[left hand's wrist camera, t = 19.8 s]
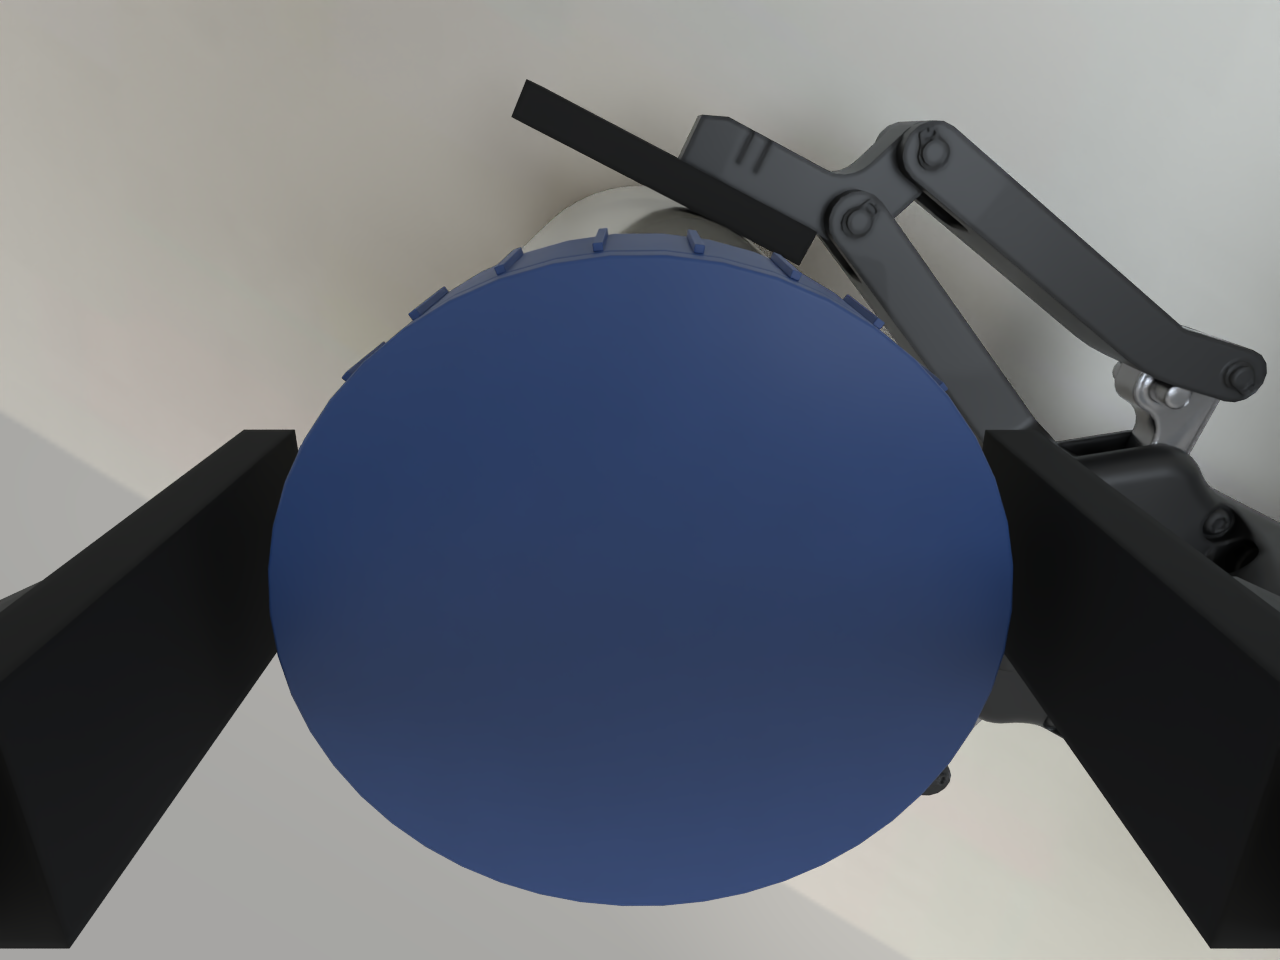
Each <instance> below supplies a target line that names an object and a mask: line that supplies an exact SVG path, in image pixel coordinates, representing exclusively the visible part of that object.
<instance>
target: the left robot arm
mask: <svg viewBox="0 0 1280 960" xmlns="http://www.w3.org/2000/svg"><path fill="white" fill-rule="evenodd" d="M982 451H983V453H984V455H985V457H986V460H987V462H988V464H989V466H990V468H991V470H992V473H993V475H994V477H995V479H996V483H997V486H998V490H999V493H1000V497H1001V500H1002V504H1003V507H1004V511H1005V514H1006V518H1007V521H1008V528H1009V536H1010V544H1011V552H1012V560H1013V593H1012V613H1011V619H1010V624H1009V630H1008V635H1007V641H1006V647H1005V652H1004V654H1005V656H1006V657H1007V658H1008V660H1009V661H1010V663H1011V664H1012V666H1013V667H1014V668H1015V670H1016V671H1017V673H1018V674H1019V676H1020V677H1021V678H1022V680H1023V681H1024V683H1025V684H1026V686H1027V687H1028V688H1029V690H1030V691H1031V693H1032V694H1033V696H1034V697H1035V698H1036V700H1037V701H1038V703H1039V704H1040V706H1041V707H1042V708H1043V710H1044V711H1045V713H1046V714H1047V716H1048V717H1049V718H1050V720H1051V721H1052V723H1053V724H1054V726H1055V727H1056V728H1057V730H1058V731H1059V733H1060V734H1061V736H1062V737H1063V738H1064V740H1065V741H1066V743H1067V744H1068V746H1069V747H1070V748H1071V750H1072V751H1073V753H1074V754H1075V756H1076V757H1077V758H1078V760H1079V761H1080V763H1081V764H1082V766H1083V767H1084V768H1085V770H1086V771H1087V773H1088V774H1089V776H1090V777H1091V778H1092V780H1093V781H1094V783H1095V784H1096V786H1097V787H1098V788H1099V790H1100V791H1101V793H1102V794H1103V796H1104V797H1105V798H1106V800H1107V801H1108V803H1109V804H1110V806H1111V807H1112V808H1113V810H1114V811H1115V813H1116V814H1117V816H1118V817H1119V818H1120V820H1121V821H1122V823H1123V824H1124V826H1125V827H1126V828H1127V830H1128V831H1129V833H1130V834H1131V836H1132V837H1133V838H1134V840H1135V841H1136V843H1137V844H1138V846H1139V847H1140V848H1141V850H1142V851H1143V853H1144V854H1145V856H1146V857H1147V858H1148V860H1149V861H1150V863H1151V864H1152V866H1153V867H1154V868H1155V870H1156V871H1157V873H1158V874H1159V876H1160V877H1161V878H1162V880H1163V881H1164V883H1165V884H1166V886H1167V887H1168V888H1169V890H1170V891H1171V893H1172V894H1173V896H1174V897H1175V898H1176V900H1177V901H1178V903H1179V904H1180V906H1181V907H1182V908H1183V910H1184V911H1185V913H1186V914H1187V916H1188V917H1189V918H1190V920H1191V921H1192V923H1193V924H1194V926H1195V927H1196V928H1197V930H1198V931H1199V933H1200V934H1201V936H1202V937H1203V938H1204V940H1205V941H1206V943H1207V944H1208V946H1209V947H1210V948H1280V596H1278V595H1276V594H1274V593H1271V592H1269V591H1267V590H1265V589H1263V588H1260V587H1258V586H1256V585H1254V584H1252V583H1250V582H1247V581H1245V580H1243V579H1241V578H1239V577H1232V576H1231V575H1230V574H1228V573H1227V572H1226V571H1224V570H1223V569H1222V568H1220V567H1219V566H1218V565H1216V564H1215V563H1213V562H1212V561H1211V560H1209V559H1208V558H1207V557H1205V556H1204V555H1203V554H1201V553H1200V552H1199V551H1197V550H1196V549H1195V548H1193V547H1192V546H1191V545H1189V544H1188V543H1187V542H1185V541H1184V540H1183V539H1181V538H1180V537H1179V536H1177V535H1176V534H1175V533H1173V532H1172V531H1171V530H1169V529H1168V528H1167V527H1165V526H1164V525H1163V524H1161V523H1160V522H1159V521H1157V520H1156V519H1155V518H1153V517H1152V516H1151V515H1149V514H1148V513H1147V512H1145V511H1144V510H1143V509H1141V508H1140V507H1139V506H1137V505H1136V504H1135V503H1133V502H1132V501H1131V500H1129V499H1128V498H1127V497H1125V496H1124V495H1123V494H1121V493H1120V492H1119V491H1117V490H1116V489H1115V488H1113V487H1112V486H1111V485H1109V484H1108V483H1107V482H1105V481H1104V480H1103V479H1101V478H1100V477H1098V476H1097V475H1096V474H1094V473H1093V472H1092V471H1090V470H1089V469H1088V468H1086V467H1085V466H1084V465H1082V464H1081V463H1080V462H1078V461H1077V460H1076V459H1074V458H1073V457H1072V456H1070V455H1069V454H1068V453H1066V452H1065V451H1064V450H1062V449H1061V448H1060V447H1058V446H1057V445H1056V444H1054V443H1053V442H1052V441H1050V440H1049V439H1048V438H1046V437H1045V436H1044V435H1042V434H1041V433H1040V432H1038V431H1037V430H985V435H984V441H983V447H982ZM297 454H298V447H297V441H296V434H295V430H243V431H242V432H240V433H239V434H238V435H236V436H235V437H234V438H232V439H231V440H230V441H228V442H227V443H226V444H224V445H223V446H222V447H220V448H219V449H218V450H216V451H215V452H214V453H212V454H211V455H210V456H208V457H207V458H206V459H204V460H203V461H202V462H200V463H199V464H198V465H196V466H195V467H194V468H192V469H191V470H190V471H188V472H187V473H186V474H184V475H183V476H182V477H180V478H179V479H177V480H176V481H175V482H173V483H172V484H171V485H169V486H168V487H167V488H165V489H164V490H163V491H161V492H160V493H159V494H157V495H156V496H155V497H153V498H152V499H151V500H149V501H148V502H147V503H145V504H144V505H143V506H141V507H140V508H139V509H137V510H136V511H135V512H133V513H132V514H131V515H129V516H128V517H127V518H125V519H124V520H123V521H121V522H120V523H119V524H117V525H116V526H115V527H113V528H112V529H111V530H109V531H108V532H107V533H105V534H104V535H103V536H101V537H100V538H99V539H97V540H96V541H95V542H93V543H92V544H91V545H89V546H88V547H87V548H85V549H84V550H83V551H81V552H80V553H79V554H77V555H76V556H75V557H73V558H72V559H71V560H69V561H68V562H67V563H65V564H64V565H63V566H61V567H60V568H59V569H57V570H56V571H55V572H53V573H52V574H50V575H49V576H48V577H46V578H45V579H44V580H42V581H40V582H38V583H36V584H34V585H32V586H29V587H27V588H25V589H23V590H21V591H19V592H17V593H14V594H12V595H10V596H8V597H6V598H4V599H1V600H0V948H70V947H71V946H72V944H73V943H74V941H75V940H76V938H77V937H78V936H79V934H80V933H81V931H82V930H83V928H84V927H85V926H86V924H87V923H88V921H89V920H90V918H91V917H92V916H93V914H94V913H95V911H96V910H97V908H98V907H99V906H100V904H101V903H102V901H103V900H104V898H105V897H106V896H107V894H108V893H109V891H110V890H111V888H112V887H113V886H114V884H115V883H116V881H117V880H118V878H119V877H120V876H121V874H122V873H123V871H124V870H125V868H126V867H127V866H128V864H129V863H130V861H131V860H132V858H133V857H134V855H135V854H136V853H137V851H138V850H139V848H140V847H141V846H142V844H143V843H144V841H145V840H146V838H147V837H148V836H149V834H150V833H151V831H152V830H153V828H154V827H155V826H156V824H157V823H158V821H159V820H160V818H161V817H162V816H163V814H164V813H165V811H166V810H167V808H168V807H169V806H170V804H171V803H172V801H173V800H174V798H175V797H176V796H177V794H178V793H179V791H180V790H181V788H182V787H183V786H184V784H185V783H186V781H187V780H188V778H189V777H190V776H191V774H192V773H193V771H194V770H195V768H196V767H197V766H198V764H199V763H200V761H201V760H202V758H203V757H204V756H205V754H206V753H207V751H208V750H209V748H210V747H211V746H212V744H213V743H214V741H215V740H216V738H217V737H218V736H219V734H220V733H221V731H222V730H223V728H224V727H225V726H226V724H227V723H228V721H229V720H230V718H231V717H232V716H233V714H234V713H235V711H236V710H237V708H238V707H239V706H240V704H241V703H242V701H243V700H244V698H245V697H246V696H247V694H248V693H249V691H250V690H251V688H252V687H253V686H254V684H255V683H256V681H257V680H258V678H259V677H260V676H261V674H262V673H263V671H264V670H265V668H266V667H267V666H268V664H269V663H270V661H271V660H272V658H273V657H274V656H275V654H276V653H277V649H276V644H275V639H274V634H273V628H272V623H271V618H270V608H269V584H268V565H269V556H270V547H271V538H272V529H273V524H274V520H275V516H276V513H277V509H278V505H279V502H280V498H281V494H282V491H283V487H284V483H285V481H286V478H287V476H288V474H289V472H290V470H291V467H292V465H293V463H294V461H295V458H296V456H297Z"/></svg>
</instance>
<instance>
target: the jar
mask: <svg viewBox="0 0 1280 960" xmlns="http://www.w3.org/2000/svg"><path fill="white" fill-rule="evenodd" d="M601 228H607V229H608V235H610V234H661V233H662V234H670V235H678V236H685V237H687V231H688V230H696V231H697V233H698V234H699V236H700V238H701V239H708V240H712V241H716V242H720V243H723V244H727V245H731V246H734V247H738V248H742V249H745V250H749V251H753V252H755V253H758V254H760V255H763V256H765V257H767V256H766V255H765V254H764V253H763V252H762V251H761V250H760V249H759V248H758V247H757V246H756V245H755V244H754V243H753V242H752V241H751V240H749V239H747V238H745V237H743V236H741V235H739V234H737V233H735V232H733V231H731V230H729V229H728V228H726V227H724V226H722V225H720V224H718V223H716V222H714V221H712V220H710V219H708V218H706V217H704V216H702V215H700V214H698V213H696V212H694V211H692V210H691V209H689V208H687V207H685V206H683V205H681V204H679V203H677V202H675V201H673V200H671V199H669V198H667V197H665V196H663V195H661V194H660V193H658V192H656V191H654V190H652V189H650V188H648V187H646V186H626V187H619V188H612V189H609V190H605V191H602V192H598V193H595V194H593V195H590V196H588V197H586V198H584V199H581V200H579V201H577V202H576V203H574V204H572V205H571V206H569V207H568V208H566V209H564V210H563V211H562V212H560V213H559V214H558V215H557V216H556V217H554V218H553V219H552V220H551V221H550V222H548V223H547V224H546V225H545V226H544V227H543V228H542V229H541V230H540V231H539V232H538V233H537V234H536V235H535V236H534V237H533V238H532V239H531V240H530V241H529V242H528V243H527V244H526V245H525V246H524V247H523V248H522V251H523V253H526V252H529V251H533V250H536V249H540V248H543V247H547V246H550V245H554V244H557V243H561V242H564V241H568V240H575V239H582V238H589V237H595V236H596V234H597V232H598V230H599V229H601ZM767 258H768V257H767Z"/></svg>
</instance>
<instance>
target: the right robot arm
mask: <svg viewBox="0 0 1280 960" xmlns="http://www.w3.org/2000/svg"><path fill="white" fill-rule="evenodd" d="M512 118H514V119H516V120H518V121H520V122H522V123H524V124H526V125H528V126H530V127H532V128H534V129H536V130H538V131H540V132H541V133H543V134H545V135H547V136H549V137H551V138H553V139H555V140H557V141H559V142H561V143H563V144H565V145H567V146H569V147H571V148H572V149H574V150H576V151H578V152H580V153H582V154H584V155H586V156H588V157H590V158H592V159H594V160H596V161H598V162H600V163H601V164H603V165H605V166H607V167H609V168H611V169H613V170H615V171H617V172H619V173H621V174H623V175H625V176H627V177H629V178H631V179H632V180H634V181H636V182H638V183H640V184H642V185H644V186H646V187H648V188H650V189H652V190H654V191H656V192H658V193H660V194H661V195H663V196H665V197H667V198H669V199H671V200H673V201H675V202H677V203H679V204H681V205H683V206H685V207H687V208H689V209H691V210H692V211H694V212H696V213H698V214H700V215H702V216H704V217H706V218H708V219H710V220H712V221H714V222H716V223H718V224H720V225H722V226H724V227H726V228H728V229H729V230H731V231H733V232H735V233H737V234H739V235H741V236H743V237H745V238H747V239H749V240H751V241H752V242H754V243H756V244H758V245H760V246H762V247H764V248H766V249H768V250H770V251H772V252H775V253H777V254H779V255H781V256H782V257H783V258H785V259H787V260H789V261H791V262H793V263H795V264H797V265H800V263H801V261H802V259H803V258H804V256H805V254H806V252H807V250H808V249H809V247H810V245H811V243H812V241H813V239H814V238H815V236H816V234H817V235H818V237H819V238H820V240H821V241H822V242H823V244H824V245H825V246H826V248H827V249H828V250H829V252H830V253H831V254H832V256H833V257H834V258H835V260H836V261H837V263H838V264H839V265H840V267H841V268H842V269H843V271H844V272H845V273H846V275H847V276H848V277H849V279H850V280H851V281H852V283H853V284H854V285H855V287H856V288H857V290H858V291H859V292H860V294H861V295H862V296H863V298H864V299H865V300H866V302H867V303H868V304H869V306H870V307H871V308H872V310H873V311H874V312H875V314H876V315H877V317H878V318H879V319H881V320H882V321H883V322H885V324H884V326H885V327H886V329H887V330H888V331H889V333H890V334H891V335H892V337H893V338H894V339H895V341H896V342H897V344H898V345H899V346H900V347H901V348H902V349H904V350H905V351H906V352H907V353H909V354H910V355H911V356H912V357H913V358H915V359H916V360H917V361H918V362H919V363H920V364H922V365H923V366H924V367H925V368H926V369H928V370H929V371H930V372H931V373H933V374H934V375H935V376H936V377H937V378H939V379H940V380H941V381H942V382H944V384H945V385H946V386H947V388H948V390H947V391H945V392H946V393H947V394H948V396H949V397H950V399H951V400H952V402H953V403H954V405H955V406H956V408H957V409H958V411H959V412H960V414H961V415H962V417H963V418H964V420H965V421H966V423H967V424H968V425H969V427H970V428H971V430H972V431H973V433H974V434H975V436H976V438H977V440H978V442H979V445H980V447H981V449H982V447H983V441H984V435H985V430H1037V431H1038V432H1040V433H1041V434H1042V435H1044V436H1045V437H1046V438H1048V439H1049V440H1050V441H1052V442H1053V443H1054V444H1056V445H1057V446H1058V447H1060V448H1061V449H1062V450H1064V451H1065V452H1066V453H1068V454H1069V455H1070V456H1072V457H1073V458H1074V459H1076V460H1077V461H1078V462H1080V463H1081V464H1082V465H1084V466H1085V467H1086V468H1088V469H1089V470H1090V471H1092V472H1093V473H1094V474H1096V475H1097V476H1098V477H1100V478H1101V479H1103V480H1104V481H1105V482H1107V483H1108V484H1109V485H1111V486H1112V487H1113V488H1115V489H1116V490H1117V491H1119V492H1120V493H1121V494H1123V495H1124V496H1125V497H1127V498H1128V499H1129V500H1131V501H1132V502H1133V503H1135V504H1136V505H1137V506H1139V507H1140V508H1141V509H1143V510H1144V511H1145V512H1147V513H1148V514H1149V515H1151V516H1152V517H1153V518H1155V519H1156V520H1157V521H1159V522H1160V523H1161V524H1163V525H1164V526H1165V527H1167V528H1168V529H1169V530H1171V531H1172V532H1173V533H1175V534H1176V535H1177V536H1179V537H1180V538H1181V539H1183V540H1184V541H1185V542H1187V543H1188V544H1189V545H1191V546H1192V547H1193V548H1195V549H1196V550H1197V551H1199V552H1200V553H1201V554H1203V555H1204V556H1205V557H1207V558H1208V559H1209V560H1211V561H1212V562H1213V563H1215V564H1216V565H1218V566H1219V567H1220V568H1222V569H1223V570H1224V571H1226V572H1227V573H1228V574H1230V575H1231V576H1232V577H1239V578H1241V579H1243V580H1245V581H1247V582H1250V583H1252V584H1254V585H1256V586H1258V587H1260V588H1263V589H1265V590H1267V591H1269V592H1271V593H1274V594H1276V595H1278V596H1280V523H1279V522H1277V521H1275V520H1273V519H1271V518H1269V517H1267V516H1265V515H1264V514H1262V513H1260V512H1258V511H1256V510H1254V509H1252V508H1250V507H1248V506H1246V505H1244V504H1242V503H1240V502H1238V501H1236V500H1234V499H1232V498H1231V497H1229V496H1227V495H1225V494H1223V493H1221V492H1219V491H1217V490H1215V489H1213V488H1211V487H1210V486H1209V485H1208V484H1207V482H1206V481H1205V479H1204V477H1203V475H1202V473H1201V471H1200V468H1199V466H1198V465H1197V463H1196V462H1195V460H1194V459H1193V458H1192V457H1191V456H1190V455H1189V454H1190V452H1191V450H1192V449H1193V447H1194V445H1195V443H1196V441H1197V440H1198V438H1199V436H1200V434H1201V433H1202V431H1203V429H1204V427H1205V425H1206V424H1207V422H1208V420H1209V418H1210V417H1211V415H1212V413H1213V411H1214V409H1215V408H1216V406H1217V404H1218V402H1219V401H1220V400H1222V401H1228V402H1237V401H1241V400H1244V399H1246V398H1248V397H1250V396H1251V395H1253V394H1254V393H1256V391H1257V390H1258V389H1259V388H1260V386H1261V385H1262V384H1263V382H1264V379H1265V376H1266V374H1267V369H1266V362H1265V360H1264V359H1263V357H1262V355H1260V354H1259V353H1257V352H1255V351H1254V350H1251V349H1248V348H1245V347H1242V346H1240V345H1237V344H1234V343H1231V342H1228V341H1225V340H1223V339H1220V338H1217V337H1214V336H1211V335H1208V334H1206V333H1203V332H1200V331H1197V330H1194V329H1192V328H1189V327H1186V326H1182V325H1179V324H1178V323H1177V322H1176V321H1175V320H1174V319H1173V318H1172V317H1170V316H1169V315H1168V314H1167V313H1166V312H1165V311H1164V310H1162V309H1161V308H1160V307H1159V306H1158V305H1157V304H1156V303H1154V302H1153V301H1152V300H1151V299H1150V298H1149V297H1148V296H1146V295H1145V294H1144V293H1143V292H1142V291H1141V290H1140V289H1138V288H1137V287H1136V286H1135V285H1134V284H1133V283H1132V282H1131V281H1129V280H1128V279H1127V278H1126V277H1125V276H1124V275H1123V274H1121V273H1120V272H1119V271H1118V270H1117V269H1116V268H1115V267H1113V266H1112V265H1111V264H1110V263H1109V262H1108V261H1107V260H1105V259H1104V258H1103V257H1102V256H1101V255H1100V254H1099V253H1097V252H1096V251H1095V250H1094V249H1093V248H1092V247H1091V246H1090V245H1088V244H1087V243H1086V242H1085V241H1084V240H1083V239H1082V238H1080V237H1079V236H1078V235H1077V234H1076V233H1075V232H1074V231H1072V230H1071V229H1070V228H1069V227H1068V226H1067V225H1066V224H1064V223H1063V222H1062V221H1061V220H1060V219H1059V218H1058V217H1056V216H1055V215H1054V214H1053V213H1052V212H1051V211H1050V210H1048V209H1047V208H1046V207H1045V206H1044V205H1043V204H1042V203H1041V202H1039V201H1038V200H1037V199H1036V198H1035V197H1034V196H1033V195H1031V194H1030V193H1029V192H1028V191H1027V190H1026V189H1025V188H1023V187H1022V186H1021V185H1020V184H1019V183H1018V182H1017V181H1015V180H1014V179H1013V178H1012V177H1011V176H1010V175H1009V174H1007V173H1006V172H1005V171H1004V170H1003V169H1002V168H1001V167H1000V166H998V165H997V164H996V163H995V162H994V161H993V160H992V159H990V158H989V157H988V156H987V155H986V154H985V153H984V152H982V151H981V150H980V149H979V148H978V147H977V146H976V145H974V144H973V143H972V142H971V141H970V140H969V139H968V138H966V137H965V136H964V135H963V134H962V133H961V132H960V131H959V130H957V129H956V128H955V127H954V126H952V125H950V124H948V123H946V122H945V121H911V122H897V123H895V124H892V125H889V126H888V127H886V128H885V129H884V130H883V131H882V132H881V133H880V134H879V136H878V138H877V140H876V141H875V143H874V144H873V145H872V146H871V147H870V148H869V149H868V150H867V151H866V152H865V153H864V154H863V155H862V156H861V157H860V158H859V159H857V160H856V161H855V162H854V163H853V164H851V165H850V166H849V167H846V168H844V169H842V170H838V171H832V172H830V171H828V170H826V169H824V168H822V167H820V166H818V165H817V164H815V163H813V162H811V161H809V160H807V159H805V158H804V157H802V156H800V155H798V154H796V153H794V152H792V151H791V150H789V149H787V148H785V147H783V146H781V145H780V144H778V143H776V142H774V141H772V140H770V139H768V138H767V137H765V136H763V135H761V134H759V133H757V132H755V131H753V130H752V129H750V128H748V127H746V126H744V125H743V124H741V123H739V122H737V121H735V120H733V119H731V118H730V117H723V116H711V115H700V116H698V117H697V119H696V121H695V123H694V125H693V127H692V130H691V132H690V134H689V136H688V138H687V140H686V142H685V144H684V146H683V149H682V151H681V153H680V155H679V157H678V158H677V157H675V156H673V155H671V154H669V153H667V152H665V151H663V150H662V149H660V148H658V147H656V146H654V145H652V144H650V143H648V142H646V141H644V140H643V139H641V138H639V137H637V136H635V135H633V134H631V133H629V132H627V131H625V130H624V129H622V128H620V127H618V126H616V125H614V124H612V123H610V122H608V121H606V120H605V119H603V118H601V117H599V116H597V115H595V114H593V113H591V112H589V111H587V110H586V109H584V108H582V107H580V106H578V105H576V104H574V103H572V102H570V101H568V100H567V99H565V98H563V97H561V96H559V95H557V94H555V93H553V92H551V91H549V90H548V89H546V88H544V87H542V86H540V85H538V84H536V83H534V82H532V81H529V80H527V79H526V82H525V84H524V87H523V89H522V92H521V94H520V97H519V99H518V102H517V104H516V107H515V109H514V112H513V114H512ZM913 201H915V202H916V203H918V204H919V205H920V206H921V207H922V208H924V209H925V210H926V211H927V212H928V213H930V214H931V215H932V216H933V217H934V218H936V219H937V220H938V221H939V222H940V223H941V224H943V225H944V226H945V227H946V228H947V229H949V230H950V231H951V232H952V233H953V234H955V235H956V236H957V237H958V238H959V239H961V240H962V241H963V242H964V243H965V244H966V245H968V246H969V247H970V248H971V249H972V250H974V251H975V252H976V253H977V254H978V255H980V256H981V257H982V258H983V259H984V260H986V261H987V262H988V263H989V264H990V265H991V266H993V267H994V268H995V269H996V270H997V271H999V272H1000V273H1001V274H1002V275H1003V276H1005V277H1006V278H1007V279H1008V280H1009V281H1011V282H1012V283H1013V284H1014V285H1015V286H1016V287H1018V288H1019V289H1020V290H1021V291H1022V292H1024V293H1025V294H1026V295H1027V296H1028V297H1030V298H1031V299H1032V300H1033V301H1034V302H1036V303H1037V304H1038V305H1039V306H1040V307H1041V308H1043V309H1044V310H1045V311H1046V312H1047V313H1049V314H1050V315H1051V316H1052V317H1053V318H1055V319H1056V320H1057V321H1058V322H1059V323H1061V324H1062V325H1063V326H1064V327H1065V328H1066V329H1068V330H1069V331H1070V332H1071V333H1072V334H1074V335H1075V336H1076V337H1077V338H1079V339H1080V340H1082V341H1083V342H1084V343H1086V344H1087V345H1088V346H1090V347H1092V348H1094V349H1096V350H1097V351H1099V352H1101V353H1103V354H1105V355H1107V356H1109V357H1111V358H1113V359H1116V360H1118V361H1119V362H1118V363H1117V364H1116V365H1115V366H1114V368H1113V372H1112V373H1113V377H1114V379H1115V389H1116V392H1117V393H1118V394H1119V396H1120V397H1121V398H1123V399H1124V400H1126V401H1127V402H1129V403H1130V404H1131V405H1132V406H1133V408H1134V410H1135V413H1136V423H1135V426H1134V428H1133V430H1127V431H1120V432H1114V433H1107V434H1101V435H1095V436H1089V437H1082V438H1076V439H1070V440H1063V441H1057V442H1055V441H1054V439H1053V438H1052V437H1051V436H1050V435H1049V434H1048V433H1047V431H1046V430H1045V429H1044V428H1043V427H1042V426H1041V425H1040V424H1039V423H1038V422H1037V421H1036V420H1035V418H1034V417H1033V416H1032V414H1031V413H1030V411H1029V410H1028V408H1027V407H1026V406H1025V404H1024V403H1023V401H1022V400H1021V399H1020V397H1019V396H1018V394H1017V393H1016V391H1015V390H1014V389H1013V387H1012V386H1011V384H1010V383H1009V381H1008V380H1007V379H1006V377H1005V376H1004V374H1003V373H1002V371H1001V370H1000V369H999V367H998V366H997V364H996V363H995V362H994V360H993V359H992V357H991V356H990V354H989V353H988V352H987V350H986V349H985V347H984V346H983V344H982V343H981V342H980V340H979V339H978V337H977V336H976V335H975V333H974V332H973V330H972V329H971V327H970V326H969V325H968V323H967V322H966V320H965V319H964V317H963V316H962V315H961V313H960V312H959V310H958V309H957V308H956V306H955V305H954V303H953V302H952V300H951V299H950V298H949V296H948V295H947V293H946V292H945V290H944V289H943V288H942V286H941V285H940V283H939V282H938V280H937V279H936V278H935V276H934V275H933V273H932V272H931V271H930V269H929V268H928V266H927V265H926V263H925V262H924V261H923V259H922V258H921V256H920V255H919V253H918V252H917V251H916V249H915V248H914V246H913V245H912V244H911V242H910V241H909V239H908V238H907V236H906V235H905V234H904V232H903V231H902V229H901V228H900V226H899V225H898V224H897V222H896V221H895V219H894V218H895V217H896V216H897V215H899V214H900V213H901V212H902V211H903V210H904V209H905V208H906V207H907V206H908V205H910V204H911V203H912V202H913ZM981 720H985V721H988V722H992V723H1030V724H1035V725H1039V726H1041V727H1043V728H1045V729H1047V730H1049V731H1051V732H1053V733H1054V734H1056V735H1058V736H1060V737H1062V736H1061V734H1060V733H1059V731H1058V730H1057V728H1056V727H1055V726H1054V724H1053V723H1052V721H1051V720H1050V718H1049V717H1048V716H1047V714H1046V713H1045V711H1044V710H1043V708H1042V707H1041V706H1040V704H1039V703H1038V701H1037V700H1036V698H1035V697H1034V696H1033V694H1032V693H1031V691H1030V690H1029V688H1028V687H1027V686H1026V684H1025V683H1024V681H1023V680H1022V678H1021V677H1020V676H1019V674H1018V673H1017V671H1016V670H1015V668H1014V667H1013V666H1012V664H1011V663H1010V661H1009V660H1008V658H1007V657H1006V656H1005V654H1004V655H1003V658H1002V661H1001V664H1000V667H999V670H998V673H997V676H996V679H995V682H994V685H993V688H992V691H991V693H990V695H989V697H988V699H987V701H986V703H985V705H984V707H983V709H982V711H981V713H980V715H979V717H978V719H977V721H976V723H975V725H974V727H975V726H976V725H977V724H978V723H979V722H980V721H981ZM974 727H973V728H974ZM1062 738H1063V737H1062ZM1063 739H1064V738H1063ZM950 777H951V773H950V770H949V767H948V765H947V766H946V768H945V769H944V770H943V771H942V772H941V773H940V774H939V776H938V777H937V778H936V779H935V780H934V781H933V782H932V784H931V785H930V786H929V787H928V788H927V789H926V790H925V792H924V793H923V794H922V795H932V794H936V793H938V792H940V791H941V790H943V789H944V788H945V787H946V786H947V785H948V783H949V782H950Z"/></svg>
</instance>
